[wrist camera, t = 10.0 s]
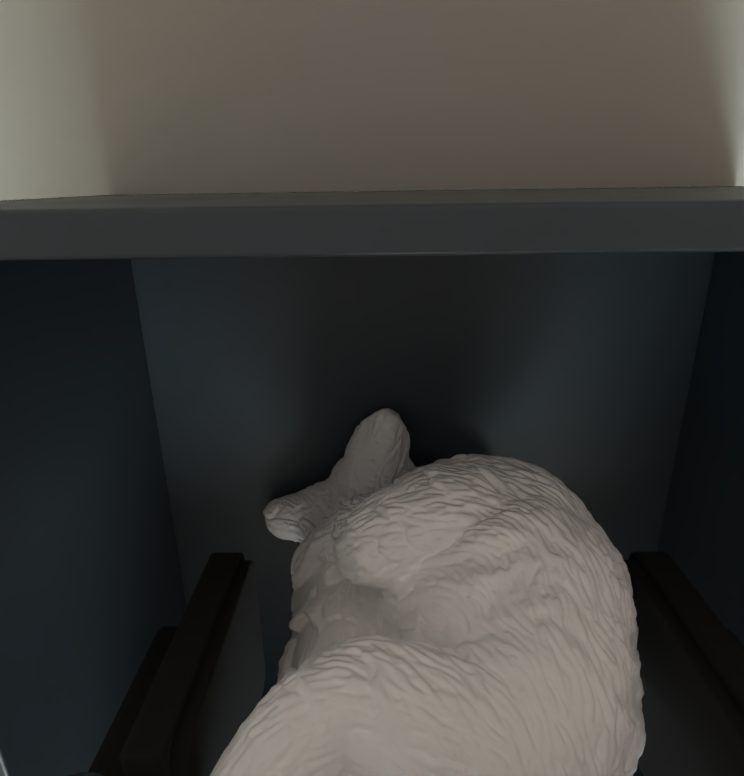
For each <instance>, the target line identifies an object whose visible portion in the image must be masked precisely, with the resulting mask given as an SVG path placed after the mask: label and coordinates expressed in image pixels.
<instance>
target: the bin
mask: <svg viewBox="0 0 744 776" xmlns="http://www.w3.org/2000/svg"><path fill="white" fill-rule="evenodd" d="M384 408H390V409H392V410H394V411H395V412H397V413H398V414H399V415H400V418H401V420H402V421H403V423H404V425H405V426H406V430H407V431H408V432H409V436H410V449H409V457H410V460H411V461H412V462H413V464H414V466H416V467H420V466H424V465H428V464H432V463H434V462H435V461H436V460H439V459H450V458H452V457H453V456H455V455H458V454H466V455H468V454H483V455H488V456H501V457H507V458H514V459H517V460H521V461H524V462H528V463H531V464H534V465H537V466H539V467H542V468H544V469H545V470H547V471H549V472H550V473H551V475H553V476H555V477H557V478H558V479H560V480H561V481H562V482H563V483H564V484H565V486H566V487H567V488H569V489H570V491H572V492H574V493H575V494H576V495H577V496H578V497H579V498H580V499H581V500H582V502H583V503H584V504H585V506H586V508H587V510H588V511H589V512H590V513H591V515H592V516H593V518H594V520H595V521H596V522H597V523H598V524H599V525H600V526H601V527H602V528H603V530H604V531H605V533H606V535H607V536H608V538H609V539H610V541H611V542H612V544H613V546H614V547H616V548H617V549H618V551H619V552H620V554H621V555H622V557H623V560H629V556H630V555H631V553H632V552H666V553H668V554H669V555H670V556H671V558H672V559H673V560H674V562H675V563H676V564H677V565H678V567H679V568H680V569H681V571H682V572H683V573H684V575H685V576H686V577H687V578H688V580H689V581H690V582H691V584H692V585H693V586H694V587H695V589H696V590H697V591H698V593H699V594H700V595H701V597H702V598H703V599H704V600H705V602H706V603H707V604H708V606H709V607H710V608H711V610H712V611H713V612H714V613H715V615H716V616H717V617H718V619H719V620H720V621H721V623H722V624H723V625H724V626H725V628H726V629H728V630H730V631H731V632H732V633H733V634H734V635H735V636H736V637H737V639H738V640H739V641H740V643H741V644H742V645H743V646H744V186H718V187H645V188H573V189H500V190H428V191H356V192H283V193H211V194H138V195H98V196H79V197H59V198H40V199H21V200H2V201H0V776H68V775H72V774H76V773H80V772H88V771H89V769H90V767H91V765H92V763H93V761H94V759H95V757H96V755H97V753H98V751H99V749H100V747H101V745H102V743H103V740H104V738H105V736H106V734H107V732H108V730H109V728H110V726H111V724H112V722H113V720H114V718H115V716H116V714H117V712H118V710H119V708H120V706H121V704H122V702H123V700H124V698H125V696H126V694H127V692H128V690H129V688H130V686H131V684H132V682H133V680H134V678H135V676H136V674H137V672H138V670H139V668H140V666H141V664H142V662H143V660H144V658H145V656H146V654H147V652H148V650H149V647H150V645H151V643H152V641H153V639H154V637H155V636H156V634H157V632H158V631H159V629H161V628H162V627H163V626H178V625H179V623H180V621H181V619H182V616H183V614H184V612H185V610H186V608H187V605H188V603H189V601H190V599H191V597H192V594H193V592H194V590H195V588H196V586H197V583H198V581H199V579H200V577H201V575H202V572H203V570H204V568H205V566H206V564H207V561H208V559H209V557H210V555H211V554H212V553H214V552H242V553H243V555H244V558H245V560H252V561H253V562H254V566H255V575H256V584H257V594H258V603H259V613H260V622H261V632H262V642H263V651H264V661H265V683H264V689H263V693H262V698H263V697H264V696H265V695H266V694H267V693H268V692H269V691H270V689H271V687H272V686H274V685H276V684H277V679H278V675H277V674H278V671H279V664H278V662H279V660H280V658H281V657H282V656H283V654H284V650H285V646H286V644H287V642H288V641H289V640H290V638H291V637H292V632H293V630H291V629H290V628H289V622H290V621H291V619H292V614H293V612H292V611H291V597H292V594H293V592H294V589H293V588H292V584H293V583H292V580H291V578H292V575H291V561H292V557H293V556H294V552H295V550H296V549H297V547H298V546H299V545H300V542H294V541H292V540H282V539H281V538H277V537H276V536H274V535H273V534H272V533H271V532H270V531H269V530H268V528H267V526H266V523H265V516H264V514H263V511H264V509H265V507H266V506H267V504H268V503H269V502H270V501H272V500H274V499H276V498H281V497H283V496H285V495H289V494H292V493H296V492H298V491H301V490H303V489H305V488H307V487H308V486H313V485H314V484H315V483H317V482H322V481H325V480H326V479H328V478H329V476H330V475H331V471H332V469H333V468H334V466H335V465H336V464H337V462H338V461H339V460H340V459H341V458H343V457H344V453H345V450H346V446H347V444H348V443H349V441H350V438H351V436H353V433H354V431H355V428H356V427H357V426H358V425H360V422H361V421H363V420H364V419H366V418H367V417H369V416H370V415H372V414H373V413H374V412H376V411H378V410H380V409H384ZM262 698H261V699H262ZM633 776H644V775H643V773H642V771H641V768H640V766H639V764H638V765H637V770H636V772H635V773H634V774H633Z"/></svg>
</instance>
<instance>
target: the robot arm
mask: <svg viewBox="0 0 744 776" xmlns="http://www.w3.org/2000/svg"><path fill="white" fill-rule="evenodd" d="M623 561H624V562H625V563H626V565H627V568H628V572H629V574H630V578H631V585H632V588H633V600H634V606H635V608H636V613H637V616H636V622H637V626H638V628H639V630H638V640H637V650H638V652H639V658H640V659H639V660H640V662H641V668H640V677H641V679H642V684H643V690H644V695H643V697H642V699H641V701H642V712H643V716H644V722H645V733H646V743H645V746H644V750H643V753H642V755H641V756H640V758H639V759H638V764H639V766H640V768H641V771H642V773H643V775H644V776H744V646H743V645H742V644H741V643H740V641H739V640H738V639H737V637H736V636H735V635H734V634H733V633H732V632H731V631H730V630H728V629H726V628H725V626H724V625H723V624H722V623H721V621H720V620H719V619H718V617H717V616H716V615H715V613H714V612H713V611H712V610H711V608H710V607H709V606H708V604H707V603H706V602H705V600H704V599H703V598H702V597H701V595H700V594H699V593H698V591H697V590H696V589H695V587H694V586H693V585H692V584H691V582H690V581H689V580H688V578H687V577H686V576H685V575H684V573H683V572H682V571H681V569H680V568H679V567H678V565H677V564H676V563H675V562H674V560H673V559H672V558H671V556H670V555H669V554H668V553H666V552H632V553H631V555H630V556H629V560H623ZM264 683H265V661H264V651H263V642H262V632H261V622H260V613H259V603H258V594H257V584H256V575H255V566H254V562H253V561H252V560H245V558H244V555H243V553H242V552H214V553H212V554H211V555H210V557H209V559H208V561H207V564H206V566H205V568H204V570H203V572H202V575H201V577H200V579H199V581H198V583H197V586H196V588H195V590H194V592H193V594H192V597H191V599H190V601H189V603H188V605H187V608H186V610H185V612H184V614H183V616H182V619H181V621H180V623H179V625H178V626H163V627H162V628H161V629H159V631H158V632H157V634H156V636H155V637H154V639H153V641H152V643H151V645H150V647H149V650H148V652H147V654H146V656H145V658H144V660H143V662H142V664H141V666H140V668H139V670H138V672H137V674H136V676H135V678H134V680H133V682H132V684H131V686H130V688H129V690H128V692H127V694H126V696H125V698H124V700H123V702H122V704H121V706H120V708H119V710H118V712H117V714H116V716H115V718H114V720H113V722H112V724H111V726H110V728H109V730H108V732H107V734H106V736H105V738H104V740H103V743H102V745H101V747H100V749H99V751H98V753H97V755H96V757H95V759H94V761H93V763H92V765H91V767H90V769H89V771H88V772H80V773H76V774H72V775H68V776H210V774H211V772H212V771H213V769H214V767H215V765H216V764H217V762H218V760H219V759H220V757H221V755H222V753H223V751H224V750H225V749H226V747H227V746H228V745H229V744H230V742H231V740H232V738H233V737H234V736H235V734H236V733H237V731H238V729H239V727H240V725H241V724H242V723H243V722H244V721H245V720H246V719H247V717H248V716H249V715H250V714H251V713H252V711H253V710H254V709H255V707H256V705H257V704H258V702H259V701H261V698H262V693H263V689H264Z"/></svg>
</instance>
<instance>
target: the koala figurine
mask: <svg viewBox="0 0 744 776" xmlns="http://www.w3.org/2000/svg"><path fill="white" fill-rule="evenodd" d="M409 449H410V436H409V432H408V431H407V430H406V426H405V425H404V423H403V421H402V420H401V418H400V415H399V414H398V413H397V412H395V411H394V410H392V409H390V408H384V409H380V410H378V411H376V412H374V413H373V414H372V415H370V416H369V417H367V418H366V419H364V420H363V421H361V422H360V425H358V426H357V427H356V428H355V431H354V433H353V436H351V438H350V441H349V443H348V444H347V446H346V450H345V453H344V457H343V458H341V459H340V460H339V461H338V462H337V464H336V465H335V466H334V468H333V469H332V471H331V475H330V476H329V478H328V479H326V480H325V481H322V482H317V483H315V484H314V485H313V486H308V487H307V488H305V489H303V490H301V491H298V492H296V493H292V494H289V495H285V496H283V497H281V498H276V499H274V500H272V501H270V502H269V503H268V504H267V506H266V507H265V509H264V511H263V514H264V516H265V523H266V526H267V528H268V530H269V531H270V532H271V533H272V534H273V535H274V536H276V537H277V538H281V539H282V540H292V541H294V542H300V545H299V546H298V547H297V549H296V550H295V552H294V556H293V557H292V561H291V575H292V578H291V580H292V583H293V584H292V588H293V589H294V592H293V594H292V597H291V611H292V612H293V614H292V619H291V621H290V622H289V628H290V629H291V630H293V632H292V637H291V638H290V640H289V641H288V642H287V644H286V646H285V650H284V654H283V656H282V657H281V658H280V660H279V662H278V664H279V671H278V674H277V675H278V679H277V684H276V685H274V686H272V687H271V689H270V691H269V692H268V693H267V694H266V695H265V696H264V697H263V698H262V699H261V701H259V702H258V704H257V705H256V707H255V709H254V710H253V711H252V713H251V714H250V715H249V716H248V717H247V719H246V720H245V721H244V722H243V723H242V724H241V725H240V727H239V729H238V731H237V733H236V734H235V736H234V737H233V738H232V740H231V742H230V744H229V745H228V746H227V747H226V749H225V750H224V751H223V753H222V755H221V757H220V759H219V760H218V762H217V764H216V765H215V767H214V769H213V771H212V772H211V774H210V776H633V774H634V773H635V772H636V770H637V765H638V759H639V758H640V756H641V755H642V753H643V750H644V746H645V743H646V733H645V722H644V716H643V712H642V701H641V699H642V697H643V695H644V690H643V684H642V679H641V677H640V668H641V662H640V660H639V659H640V658H639V652H638V650H637V640H638V630H639V628H638V626H637V622H636V616H637V613H636V608H635V606H634V600H633V588H632V585H631V578H630V574H629V572H628V568H627V565H626V563H625V562H624V561H623V557H622V555H621V554H620V552H619V551H618V549H617V548H616V547H614V546H613V544H612V542H611V541H610V539H609V538H608V536H607V535H606V533H605V531H604V530H603V528H602V527H601V526H600V525H599V524H598V523H597V522H596V521H595V520H594V518H593V516H592V515H591V513H590V512H589V511H588V510H587V508H586V506H585V504H584V503H583V502H582V500H581V499H580V498H579V497H578V496H577V495H576V494H575V493H574V492H572V491H570V489H569V488H567V487H566V486H565V484H564V483H563V482H562V481H561V480H560V479H558V478H557V477H555V476H553V475H551V473H550V472H549V471H547V470H545V469H544V468H542V467H539V466H537V465H534V464H531V463H528V462H524V461H521V460H517V459H514V458H507V457H501V456H488V455H483V454H468V455H466V454H458V455H455V456H453V457H452V458H450V459H439V460H436V461H435V462H434V463H432V464H428V465H424V466H420V467H416V466H414V464H413V462H412V461H411V460H410V457H409Z"/></svg>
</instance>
